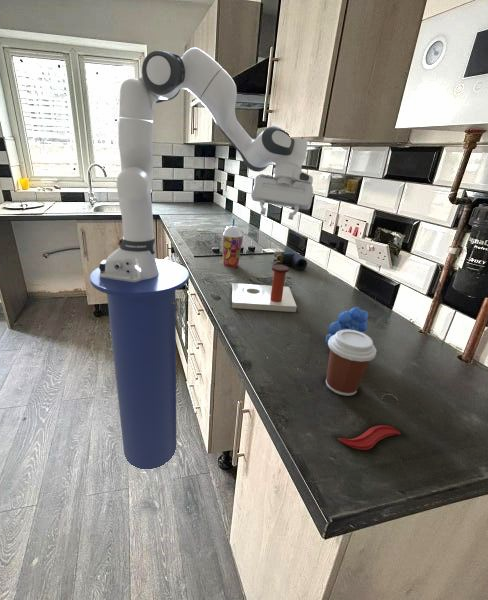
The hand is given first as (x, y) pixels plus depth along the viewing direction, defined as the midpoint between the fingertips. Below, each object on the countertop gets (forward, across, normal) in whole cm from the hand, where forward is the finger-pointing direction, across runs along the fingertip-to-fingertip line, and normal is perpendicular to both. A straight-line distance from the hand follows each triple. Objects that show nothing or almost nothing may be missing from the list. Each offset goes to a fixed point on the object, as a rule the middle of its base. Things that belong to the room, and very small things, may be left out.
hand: (276, 216), depth 108 cm
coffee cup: (+46, +25, -31) cm, 61 cm away
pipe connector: (+7, +7, +37) cm, 39 cm away
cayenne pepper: (+53, +29, -42) cm, 74 cm away
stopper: (+28, +6, -1) cm, 29 cm away
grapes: (+38, +25, -18) cm, 49 cm away
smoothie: (+14, -16, +29) cm, 36 cm away
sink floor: (+28, +2, +2) cm, 28 cm away
